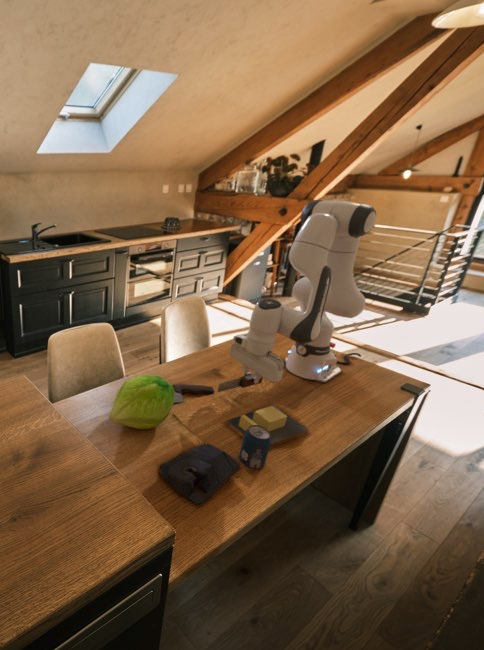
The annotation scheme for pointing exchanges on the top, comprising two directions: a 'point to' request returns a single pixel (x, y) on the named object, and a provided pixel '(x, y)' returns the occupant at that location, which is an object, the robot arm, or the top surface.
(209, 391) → the cleaver
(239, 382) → the knife
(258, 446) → the soda can
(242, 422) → the butter slice
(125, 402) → the lettuce
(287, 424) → the butter board
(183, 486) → the folded black cloth
